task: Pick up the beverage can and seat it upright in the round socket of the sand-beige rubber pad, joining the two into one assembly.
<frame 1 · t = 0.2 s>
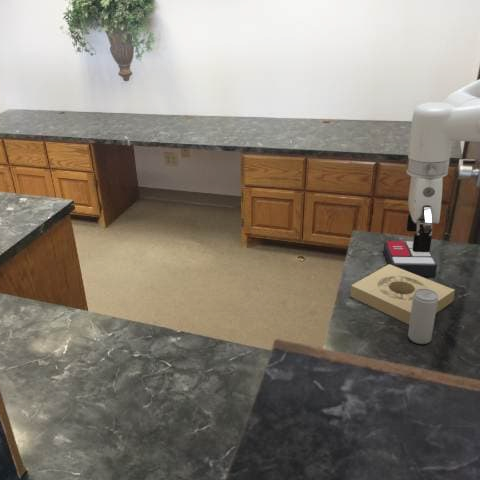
hand: (417, 240, 111), 22 cm above the counter, tool pointing down, fingers open, 9 cm apart
beverage can: (419, 339, 116), on the counter
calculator: (407, 264, 145), on the counter
socket pad: (400, 299, 130), on the counter
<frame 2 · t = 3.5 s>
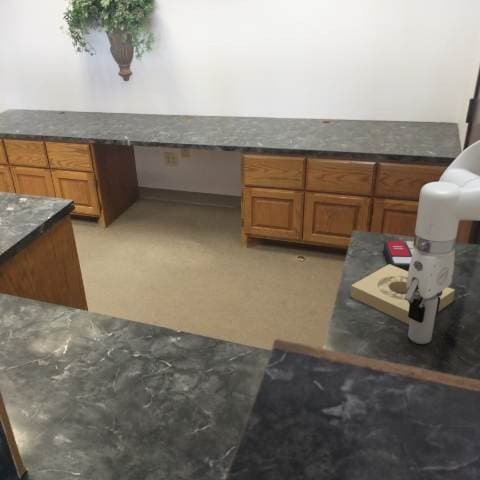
hand: (423, 314, 113), 7 cm above the counter, tool pointing down, fingers closed on beverage can, 4 cm apart
beverage can: (419, 339, 116), on the counter, touching gripper
everything else where it was.
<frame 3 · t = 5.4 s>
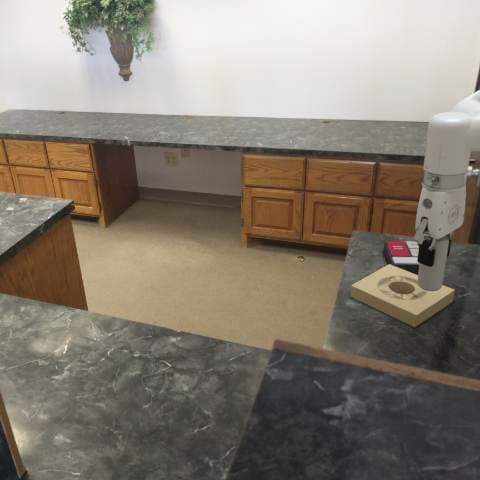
hand: (433, 258, 107), 21 cm above the counter, tool pointing down, fingers closed on beverage can, 4 cm apart
beverage can: (429, 287, 110), point 14 cm above the counter, touching gripper
everything else where it was.
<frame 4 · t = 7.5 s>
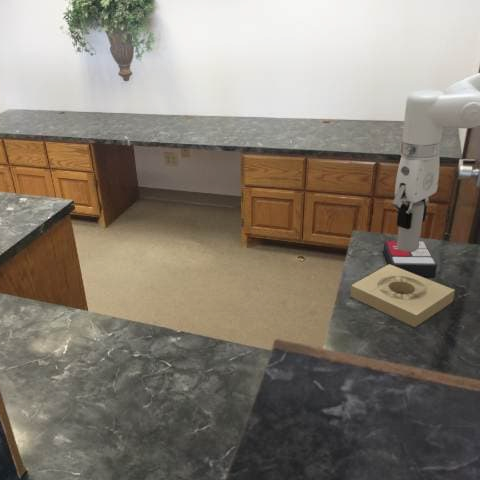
hand: (410, 222, 120), 22 cm above the counter, tool pointing down, fingers closed on beverage can, 4 cm apart
beverage can: (407, 249, 123), point 15 cm above the counter, touching gripper
everything else where it was.
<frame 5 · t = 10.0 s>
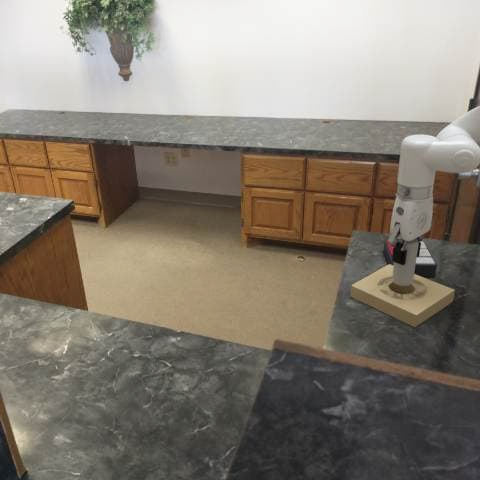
hand: (405, 258, 125), 12 cm above the counter, tool pointing down, fingers closed on beverage can, 4 cm apart
beverage can: (402, 282, 128), point 5 cm above the counter, touching gripper
everything else where it was.
when the fingers open (7 cm above the counter, at t = 11.8 s): beverage can stays where it is, resting in socket pad.
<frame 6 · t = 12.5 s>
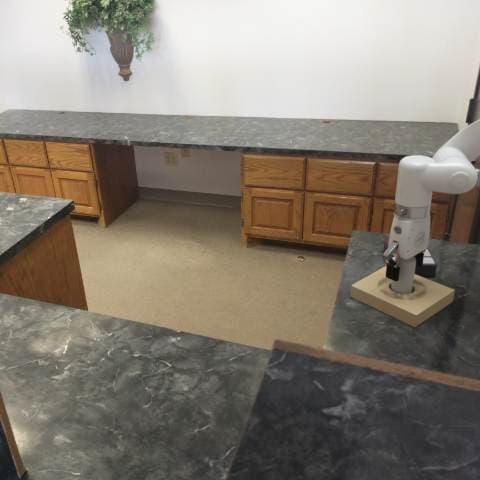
hand: (404, 272, 126), 8 cm above the counter, tool pointing down, fingers open, 9 cm apart
beverage can: (400, 299, 130), resting in socket pad
everything else where it was.
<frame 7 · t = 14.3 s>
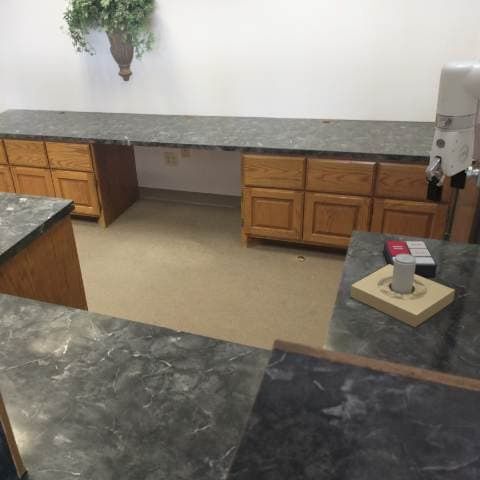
hand: (445, 194, 118), 28 cm above the counter, tool pointing down, fingers open, 9 cm apart
nothing on the counter moved.
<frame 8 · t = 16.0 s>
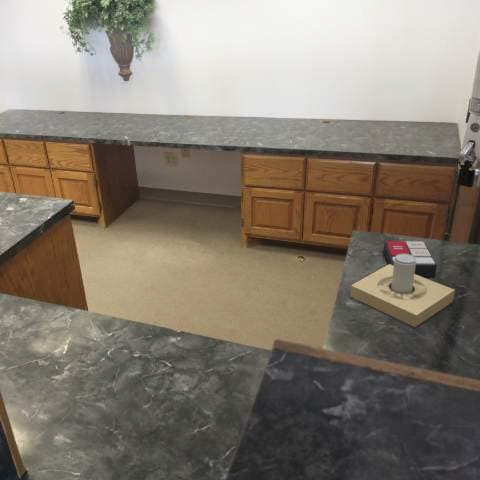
hand: (476, 179, 117), 30 cm above the counter, tool pointing down, fingers open, 9 cm apart
nothing on the counter moved.
at the end: beverage can 0.0 cm off-centre in the socket pad, point 0.0 cm above the socket pad's base; beverage can tilted 0°; the gripper is holding nothing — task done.
